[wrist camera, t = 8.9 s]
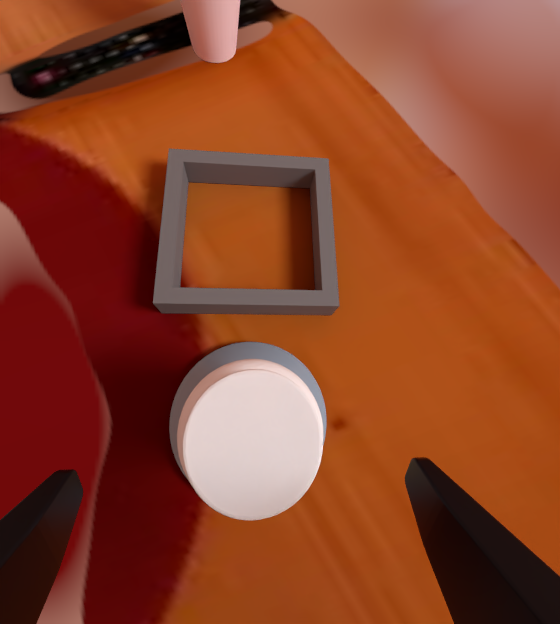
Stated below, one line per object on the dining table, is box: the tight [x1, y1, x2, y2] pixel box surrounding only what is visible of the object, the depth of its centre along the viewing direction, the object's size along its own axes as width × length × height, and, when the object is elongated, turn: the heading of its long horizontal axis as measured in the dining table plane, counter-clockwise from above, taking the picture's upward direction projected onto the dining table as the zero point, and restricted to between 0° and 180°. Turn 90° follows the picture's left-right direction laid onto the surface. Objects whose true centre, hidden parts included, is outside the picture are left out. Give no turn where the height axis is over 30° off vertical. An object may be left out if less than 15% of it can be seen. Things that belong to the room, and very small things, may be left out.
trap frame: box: [153, 149, 339, 315], centre depth 21 cm, size 11×11×2 cm
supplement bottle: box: [177, 359, 323, 520], centre depth 13 cm, size 5×5×10 cm
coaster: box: [169, 342, 326, 481], centre depth 18 cm, size 9×9×1 cm
